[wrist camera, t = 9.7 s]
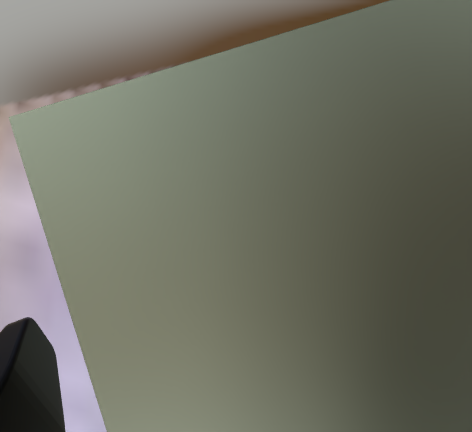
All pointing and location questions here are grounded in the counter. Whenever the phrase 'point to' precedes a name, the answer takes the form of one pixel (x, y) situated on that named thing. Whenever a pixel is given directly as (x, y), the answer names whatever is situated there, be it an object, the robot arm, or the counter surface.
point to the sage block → (273, 229)
